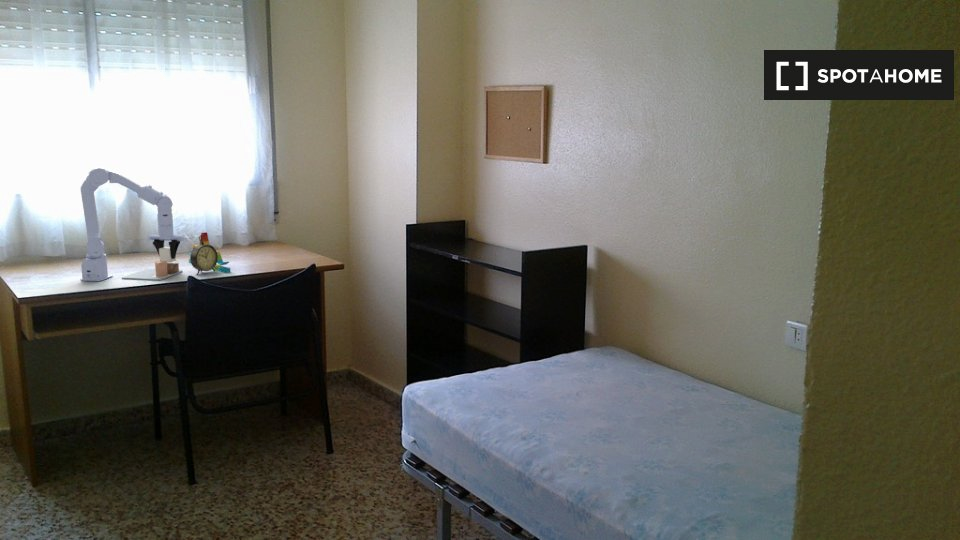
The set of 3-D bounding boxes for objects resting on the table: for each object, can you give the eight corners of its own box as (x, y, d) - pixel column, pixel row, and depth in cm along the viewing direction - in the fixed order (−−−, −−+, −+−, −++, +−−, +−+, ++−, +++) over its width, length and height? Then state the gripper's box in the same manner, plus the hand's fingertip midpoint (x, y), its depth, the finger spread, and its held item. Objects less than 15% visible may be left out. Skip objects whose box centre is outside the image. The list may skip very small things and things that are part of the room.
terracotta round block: (164, 277, 312) (163, 263, 311) (153, 276, 312) (152, 263, 311) (169, 274, 316) (168, 261, 315) (159, 274, 317) (158, 261, 315)
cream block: (170, 262, 318) (169, 249, 317) (159, 261, 318) (158, 248, 317) (175, 260, 322) (175, 247, 321) (165, 260, 323) (164, 246, 322)
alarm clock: (197, 275, 318) (195, 236, 315) (188, 274, 321) (186, 235, 318) (219, 271, 328) (217, 233, 324) (210, 270, 330) (208, 232, 327)
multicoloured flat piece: (230, 272, 328) (229, 237, 325) (223, 273, 325) (222, 237, 323) (195, 262, 348) (194, 228, 345) (189, 263, 346) (187, 229, 343)
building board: (160, 280, 308) (160, 279, 308) (121, 278, 310) (121, 277, 310) (183, 271, 326) (183, 270, 325) (146, 270, 328) (146, 268, 327)
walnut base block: (171, 274, 318) (171, 265, 317) (157, 273, 318) (157, 265, 318) (178, 271, 324) (178, 263, 323) (165, 270, 324) (164, 262, 324)
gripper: (187, 224, 320) (189, 257, 323) (153, 223, 322) (156, 255, 325) (178, 226, 313) (180, 260, 316) (144, 225, 315) (146, 258, 318)
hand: (167, 258), depth 320 cm, fingers closed on cream block, 4 cm apart
